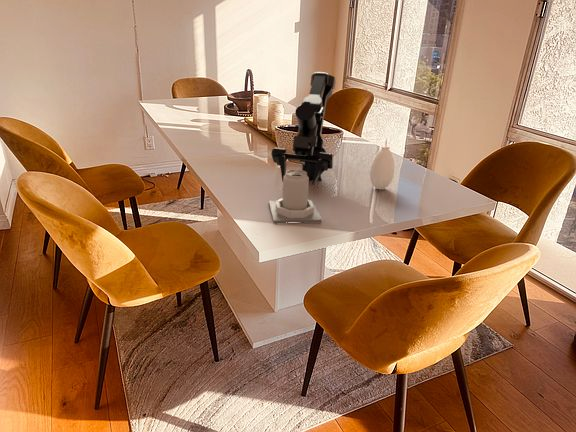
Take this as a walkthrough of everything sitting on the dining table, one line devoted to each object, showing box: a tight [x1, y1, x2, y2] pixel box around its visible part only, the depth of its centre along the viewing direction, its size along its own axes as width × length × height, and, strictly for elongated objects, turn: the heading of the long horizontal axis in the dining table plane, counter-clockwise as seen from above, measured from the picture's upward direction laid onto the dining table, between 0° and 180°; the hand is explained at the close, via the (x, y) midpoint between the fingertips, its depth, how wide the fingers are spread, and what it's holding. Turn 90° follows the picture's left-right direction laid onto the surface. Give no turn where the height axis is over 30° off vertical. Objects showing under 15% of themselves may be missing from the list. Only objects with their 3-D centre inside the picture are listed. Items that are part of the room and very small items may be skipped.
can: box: [281, 168, 310, 210], centre depth 132 cm, size 8×8×12 cm
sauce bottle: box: [369, 138, 395, 190], centre depth 152 cm, size 8×8×18 cm
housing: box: [268, 197, 322, 224], centre depth 135 cm, size 14×14×3 cm
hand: (297, 183), depth 135 cm, fingers open, 9 cm apart
